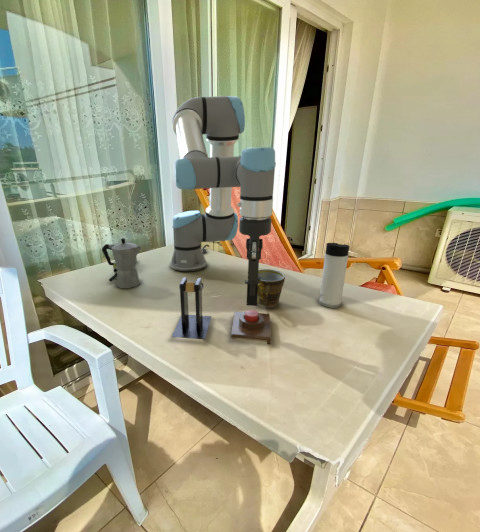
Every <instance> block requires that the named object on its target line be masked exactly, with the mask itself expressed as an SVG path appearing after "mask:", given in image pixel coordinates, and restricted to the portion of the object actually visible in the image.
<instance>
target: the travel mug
mask: <svg viewBox="0 0 480 532" xmlns="http://www.w3.org/2000/svg"><path fill="white" fill-rule="evenodd" d="M325 245H326V246H325V252H324V260H323V267H322V268H323V269H322V274H321V275H322V276H321V284H320V292H319V300H318V302H319V304H320V305H321V306H323V307H325V308H330V309H337V308H339V307H341V305H342V300H343V292H344V287H345V286H344V285H345V279H346V272H347V266H348V261H349V251H350V245H349V244H345V243H344V244H342V243H340V244H339V243H338V242H327V243H326V244H325Z"/></svg>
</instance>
